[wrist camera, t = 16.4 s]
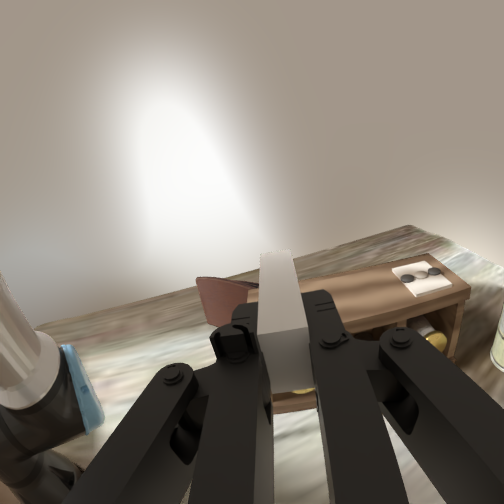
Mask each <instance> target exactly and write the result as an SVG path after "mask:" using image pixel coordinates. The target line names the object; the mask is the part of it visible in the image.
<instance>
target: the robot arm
mask: <svg viewBox="0 0 504 504" xmlns="http://www.w3.org/2000/svg"><path fill="white" fill-rule="evenodd" d="M209 338H210V341H211V344H212V347H213V349H214V352H215V355H216V358H217V360H216V363H214V364H212V365H210V366H208V367H205V368H202V369H198V370H195V371H193V369H192V368H191V367H190V366H189V365H188V364H184V363H173V364H170V365H167V366H165V367H163V368H162V369H160V370H159V371H158V372H157V373H156V375H155V376H154V377H153V379H152V380H151V381H150V383H149V384H148V385H147V387H146V388H145V389H144V391H143V392H142V393H141V395H140V396H139V398H138V399H137V400H136V402H135V403H134V404H133V406H132V407H131V408H130V410H129V411H128V412H127V414H126V415H125V417H124V418H123V419H122V421H121V422H120V423H119V425H118V426H117V427H116V429H115V430H114V432H113V433H112V434H111V436H110V437H109V438H108V440H107V441H106V442H105V444H104V445H103V447H102V448H101V449H100V451H99V452H98V453H97V455H96V456H95V458H94V459H93V460H92V462H91V463H90V464H89V466H88V467H87V468H86V470H85V471H84V473H83V474H82V473H81V471H80V470H79V468H78V467H77V466H76V465H75V464H74V463H73V462H71V461H70V460H69V459H68V458H67V457H65V456H64V455H62V454H60V453H58V452H56V451H54V450H52V448H54V447H57V446H59V445H62V444H64V443H67V442H69V441H72V440H74V439H76V438H79V437H81V436H84V435H88V434H89V432H91V431H93V430H94V429H96V428H98V427H100V426H101V425H102V424H103V423H104V420H105V415H104V412H103V409H102V407H101V404H100V402H99V400H98V397H97V395H96V393H95V391H94V389H93V386H92V384H91V382H90V380H89V377H88V375H87V373H86V371H85V369H84V366H83V364H82V362H81V360H80V358H79V356H78V353H77V351H76V350H75V348H74V347H73V346H72V345H70V344H68V345H62V346H61V348H59V347H58V346H57V344H56V343H55V341H54V340H53V339H52V338H51V337H50V336H49V335H47V334H45V333H43V332H39V331H34V330H33V329H32V327H31V325H30V324H29V322H28V321H27V319H26V317H25V316H24V314H23V312H22V311H21V309H20V307H19V305H18V304H17V302H16V300H15V298H14V296H13V295H12V293H11V291H10V289H9V287H8V285H7V283H6V281H5V279H4V278H3V275H2V273H1V271H0V480H1V481H2V482H3V483H4V484H5V485H7V486H8V487H9V489H10V490H11V491H12V493H13V494H14V495H15V496H16V498H17V499H18V500H19V501H20V502H21V504H180V502H181V500H182V498H183V496H184V494H185V493H186V491H187V489H188V487H189V485H190V483H191V481H192V484H191V489H190V495H189V500H188V504H274V439H273V404H272V400H271V391H272V394H276V393H283V392H290V391H297V390H303V389H309V388H315V396H316V406H317V412H318V416H319V423H320V430H321V437H322V444H323V451H324V458H325V466H326V474H327V482H328V490H329V499H330V504H409V502H408V498H407V494H406V490H405V487H404V483H403V480H402V476H401V473H400V469H399V466H398V462H397V459H396V456H395V453H394V449H393V446H392V443H391V440H390V437H389V434H388V431H387V428H386V425H385V422H384V419H383V416H382V414H383V415H384V417H385V418H386V419H387V421H388V422H389V424H390V425H391V426H392V428H393V429H394V430H395V432H396V433H397V435H398V436H399V437H400V439H401V440H402V442H403V443H404V444H405V446H406V447H407V449H408V450H409V451H410V453H411V454H412V456H413V457H414V458H415V460H416V461H417V463H418V464H419V465H420V467H421V468H422V470H423V471H424V472H425V474H426V475H427V477H428V478H429V479H430V481H431V482H432V484H433V485H434V486H435V488H436V489H437V491H438V492H439V494H440V495H441V496H442V498H443V499H444V501H445V502H446V504H504V409H503V408H502V407H501V406H500V405H499V404H498V403H497V402H495V401H494V400H493V399H492V398H491V397H490V396H489V395H488V394H487V393H486V392H485V391H484V390H483V389H482V388H481V387H479V386H478V385H477V384H476V383H475V382H474V381H473V380H472V379H471V378H470V377H469V376H467V375H466V374H465V373H464V372H463V371H462V370H461V369H460V368H459V367H457V366H456V365H455V364H454V363H453V362H452V361H451V360H450V359H448V358H447V357H446V356H445V355H444V354H443V353H442V352H440V351H439V350H438V349H437V348H436V347H435V346H434V345H432V344H431V343H430V342H429V341H428V340H427V339H425V338H424V337H423V336H422V335H421V334H419V333H418V332H417V331H415V330H413V329H412V328H407V327H395V328H391V329H388V330H387V331H385V332H384V333H383V334H382V335H381V337H380V341H364V340H359V339H355V338H353V336H352V335H351V334H350V332H348V331H346V330H345V328H344V325H343V323H342V320H341V318H340V315H339V313H338V310H337V309H336V305H335V303H334V300H333V298H332V295H331V294H330V293H329V292H327V291H326V290H324V289H321V290H315V291H310V292H304V293H300V288H299V284H298V280H297V275H296V271H295V267H294V263H293V259H292V255H291V250H290V249H287V250H282V251H276V252H270V253H265V254H261V255H260V276H259V301H257V302H250V303H244V304H239V305H238V306H237V307H236V308H235V309H234V311H233V312H232V317H231V323H229V324H225V325H223V326H221V327H219V328H217V329H216V330H215V331H213V332H212V334H211V336H210V337H209ZM270 387H271V388H270Z"/></svg>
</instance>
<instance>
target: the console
mask: <svg viewBox="0 0 504 504" xmlns="http://www.w3.org/2000/svg"><path fill="white" fill-rule="evenodd" d="M298 284H299V288H300V293H304V292H310V291H315V290H321V289H324V290H326V291H327V292H329V293H330V294H331V295H332V298H333V300H334V303H335V305H336V309H337V310H338V313H339V315H340V318H341V320H342V323H343V325H344V328H345V330H346V331H348V332H350V334H351V335H352V336H353V337H354V336H355V335H356V334H358V333H360V332H368V333H370V334H371V335H372V337H373V339H374V341H380V337H381V335H382V334H383V333H384V332H385V331H387V330H388V329H391V328H395V327H406V323H407V319H409V318H413V317H416V316H419V315H424V317H425V318H426V319H427V320H428V322H429V323H430V324H431V325H432V327H433V328H434V329H435V330H439V331H441V332H442V333H443V334H444V335H445V337H446V339H447V344H446V347H445V349H444V350H443V352H442V353H443V354H444V355H445V356H446V357H447V358H448V359H450V360H451V361H452V362H453V363H454V364H455V362H456V358H455V357H454V353H455V349H456V345H457V340H458V336H459V332H460V327H461V322H462V317H463V311H464V305H465V300H468V299H469V298H470V292H471V286H470V285H468V284H467V283H466V282H465V281H463V280H462V279H461V278H460V277H459V276H457V275H456V274H455V273H453V272H452V271H451V270H450V269H448V268H447V267H446V266H445V265H443V264H442V263H441V262H439V261H438V260H437V259H435V258H434V257H433V256H431V255H430V254H429V253H426V254H422V255H418V256H414V257H409V258H405V259H401V260H396V261H392V262H387V263H383V264H378V265H374V266H369V267H365V268H360V269H355V270H350V271H346V272H341V273H336V274H331V275H326V276H321V277H316V278H311V279H305V280H300V281H298ZM257 301H259V288H257V289H251V290H248V298H247V303H250V302H257ZM270 388H271V387H270ZM271 400H272V404H273V414H280V413H287V412H294V411H301V410H307V409H312V408H317V406H316V396H315V389H314V390H312V391H310V392H307V393H302V394H297V393H293V392H283V393H276V394H272V391H271Z"/></svg>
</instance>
